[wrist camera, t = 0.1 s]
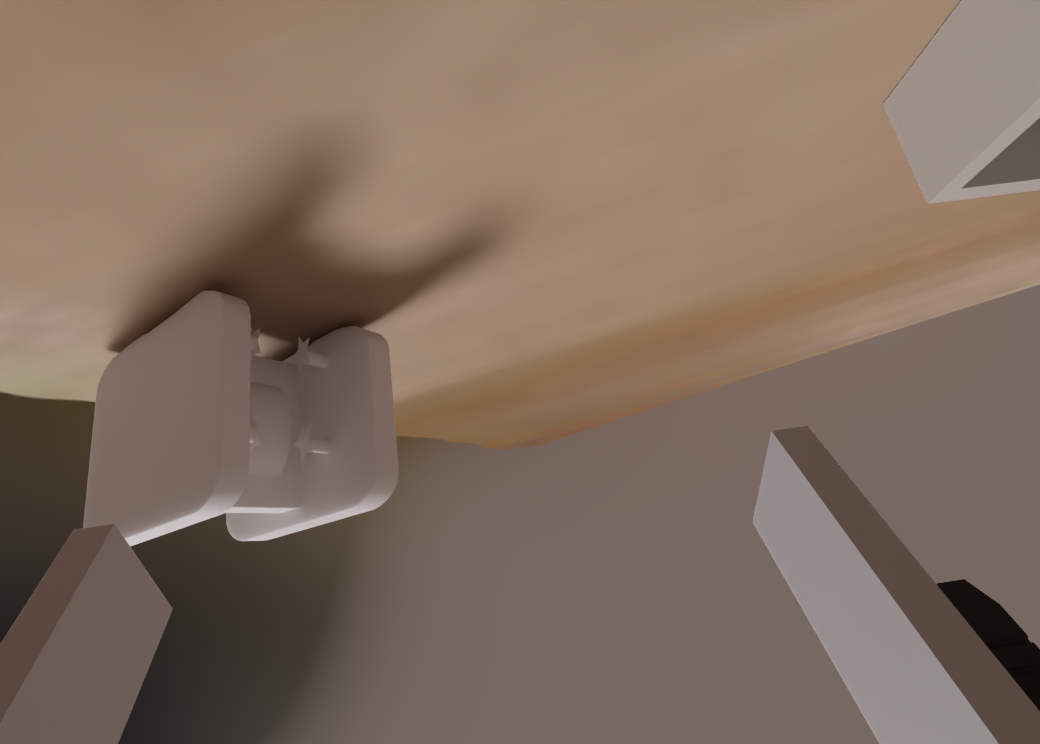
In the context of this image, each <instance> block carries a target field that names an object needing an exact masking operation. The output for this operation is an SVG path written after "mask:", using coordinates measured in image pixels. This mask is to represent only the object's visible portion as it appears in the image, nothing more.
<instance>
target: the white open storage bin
mask: <svg viewBox="0 0 1040 744" xmlns="http://www.w3.org/2000/svg"><path fill="white" fill-rule="evenodd" d="M883 106H884V108H885V111H886V113H887V115H888V117H889V120H890V122H891V124H892V126H893V129H894V131H895V133H896V135H897V138H898V140H899V142H900V144H901V146H902V149H903V151H904V153H905V155H906V158H907V160H908V162H909V164H910V167H911V169H912V171H913V173H914V175H915V178H916V180H917V182H918V184H919V187H920V189H921V191H922V193H923V196H924V198H925V200H926V202H927V204H931V203H939V202H947V201H955V200H963V199H971V198H979V197H987V196H995V195H1003V194H1011V193H1019V192H1027V191H1035V190H1040V0H961V1H960V3H959V4H958V5H957V7H956V8H955V9H954V11H953V12H952V13H951V15H950V16H949V17H948V18H947V20H946V21H945V22H944V24H943V25H942V26H941V28H940V29H939V30H938V32H937V33H936V34H935V36H934V37H933V38H932V40H931V41H930V42H929V44H928V45H927V46H926V48H925V49H924V50H923V52H922V53H921V54H920V56H919V57H918V58H917V60H916V61H915V62H914V64H913V65H912V66H911V68H910V69H909V70H908V71H907V73H906V74H905V75H904V77H903V78H902V79H901V81H900V82H899V83H898V85H897V86H896V87H895V89H894V90H893V91H892V93H891V94H890V95H889V97H888V98H887V99H886V101H885V102H884V103H883Z"/></svg>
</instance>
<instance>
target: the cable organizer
mask: <svg viewBox="0 0 1040 744" xmlns="http://www.w3.org/2000/svg"><path fill="white" fill-rule="evenodd" d="M260 328H261V327H260ZM260 328H259V329H258V330H257V331H256V332H255V333H254V331H253V329H252V328H251V315H250V309H249V306H248V304H247V303H246V302H245V301H244V300H243V299H240V298H237V297H234V296H231V295H228V294H224V293H221V292H218V291H208V290H204V291H202V292H200V293H199V294H198V295H196V296H195V297H194V298H193V299H191V300H190V301H189V302H188V303H186V304H185V305H184V306H182V307H181V308H180V309H179V310H178V311H177V312H176V313H175V314H173V315H172V316H171V317H169V318H168V319H167V320H165V321H164V322H162V323H161V324H160V325H158V326H157V327H156V328H154V329H153V330H151V331H150V332H149V333H146V334H144V335H142V336H141V337H139V338H138V339H137V340H135V341H134V342H132V343H131V344H130V345H128V346H127V347H126V348H124V349H123V351H122V352H121V353H120V354H118V355H117V356H116V357H114V358H113V359H112V360H111V361H110V363H109V364H108V365H107V367H106V369H105V370H104V372H103V374H102V376H101V379H100V382H99V385H98V389H97V395H96V404H95V415H94V425H93V435H92V444H91V454H90V465H89V474H88V484H87V495H86V504H85V515H84V528H89V527H96V526H103V525H110V524H115V525H116V527H117V528H118V530H119V531H120V533H121V534H122V536H123V537H124V539H125V540H126V541H127V543H128V544H129V546H133V545H135V544H138V543H141V542H144V541H147V540H150V539H152V538H155V537H158V536H161V535H164V534H167V533H170V532H173V531H175V530H178V529H181V528H184V527H187V526H189V525H193V524H195V523H198V522H201V521H204V520H207V519H209V518H213V517H215V516H218V515H221V514H223V513H226V524H227V528H228V531H229V533H230V534H231V535H232V537H233V538H235V539H236V540H239V541H261V540H270V539H273V538H277V537H280V536H283V535H287V534H290V533H294V532H297V531H301V530H304V529H308V528H311V527H315V526H318V525H322V524H325V523H329V522H332V521H336V520H339V519H343V518H346V517H350V516H353V515H356V514H360V513H363V512H367V511H370V510H373V509H376V508H377V507H379V506H381V505H382V504H383V503H384V502H385V501H386V500H387V499H388V498H389V497H390V495H391V494H392V492H393V491H394V489H395V486H396V484H397V480H398V460H397V459H398V458H397V445H396V432H395V419H394V406H393V393H392V380H391V368H390V355H389V346H388V343H387V341H386V339H385V338H384V337H383V336H382V335H380V334H378V333H375V332H372V331H369V330H366V329H363V328H360V327H356V326H350V327H345V328H338V329H336V330H334V331H332V332H330V333H328V334H327V335H325V336H323V337H321V338H319V339H317V340H316V341H314V342H313V343H311V345H310V346H309V347H308V343H309V338H310V337H309V338H308V339H307V340H306V341H305V342H304V343H303V342H302V340H301V339H300V337H298V350H297V352H296V354H294V355H292V356H291V357H289V358H287V359H285V360H283V361H277V360H272V359H268V358H264V357H259V356H255V355H254V354H258V353H261V352H260V348H259V344H258V338H259V333H260Z"/></svg>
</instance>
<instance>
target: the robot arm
mask: <svg viewBox="0 0 1040 744" xmlns="http://www.w3.org/2000/svg"><path fill="white" fill-rule="evenodd" d="M753 524H754V526H755V527H756V529H757V531H758V533H759V534H760V536H761V538H762V540H763V541H764V543H765V545H766V547H767V548H768V550H769V552H770V553H771V555H772V557H773V559H774V561H775V562H776V564H777V566H778V568H779V569H780V571H781V573H782V574H783V576H784V578H785V580H786V581H787V583H788V585H789V587H790V588H791V590H792V592H793V593H794V595H795V597H796V599H797V601H798V602H799V604H800V606H801V608H802V609H803V611H804V613H805V615H806V616H807V618H808V620H809V622H810V623H811V625H812V627H813V629H814V630H815V632H816V634H817V635H818V637H819V639H820V641H821V642H822V644H823V646H824V648H825V650H826V651H827V653H828V655H829V656H830V658H831V660H832V662H833V664H834V665H835V667H836V669H837V670H838V672H839V674H840V676H841V677H842V679H843V681H844V683H845V684H846V686H847V688H848V690H849V691H850V693H851V695H852V697H853V698H854V700H855V702H856V703H857V705H858V707H859V709H860V711H861V712H862V714H863V716H864V718H865V719H866V721H867V723H868V724H869V726H870V728H871V730H872V732H873V733H874V735H875V737H876V738H877V740H878V742H879V744H1040V649H1039V648H1038V647H1037V646H1036V645H1035V644H1034V643H1031V642H1030V641H1029V640H1028V636H1027V635H1026V633H1025V632H1024V631H1023V630H1022V629H1021V628H1020V627H1019V625H1018V624H1017V623H1016V622H1015V621H1014V620H1013V619H1012V618H1011V617H1010V615H1008V613H1007V612H1006V611H1005V610H1004V609H1003V608H1002V606H1001V605H1000V604H998V603H997V602H996V601H994V600H993V599H991V598H990V597H989V596H987V595H985V594H984V593H983V592H981V591H980V590H979V589H977V588H976V587H974V586H973V585H971V584H970V583H969V582H967V581H966V580H964V579H963V580H957V581H950V582H944V583H938V584H936V583H935V582H934V581H933V579H932V578H931V577H930V576H929V575H928V573H927V572H926V571H925V570H924V568H923V567H922V566H921V565H920V563H919V562H918V561H917V560H916V559H915V557H914V556H913V555H912V554H911V552H910V551H909V550H908V549H907V548H906V546H905V545H904V544H903V543H902V541H901V540H900V539H899V538H898V537H897V535H896V534H895V533H894V532H893V530H892V529H891V528H890V527H889V525H888V524H887V523H886V522H885V520H884V519H883V518H882V517H881V516H880V514H879V513H878V512H877V511H876V509H875V508H874V507H873V506H872V505H871V503H870V502H869V501H868V500H867V498H866V497H865V496H864V495H863V494H862V492H861V491H860V490H859V488H858V487H857V486H856V485H855V484H854V482H853V481H852V480H851V479H850V477H849V476H848V475H847V474H846V473H845V472H844V470H843V469H842V468H841V466H840V465H839V464H838V463H837V461H836V460H835V459H834V458H833V457H832V455H831V454H830V453H829V452H828V450H827V449H826V448H825V447H824V446H823V444H822V443H821V442H820V441H819V440H818V438H817V437H816V436H815V434H814V433H813V432H812V431H811V430H810V428H809V427H808V426H804V427H796V428H789V429H782V430H775V431H771V436H770V441H769V446H768V451H767V455H766V460H765V465H764V470H763V474H762V479H761V484H760V489H759V494H758V499H757V503H756V508H755V513H754V518H753ZM171 612H172V607H171V606H170V604H169V603H168V601H167V600H166V598H165V597H164V596H163V594H162V593H161V591H160V590H159V588H158V587H157V585H156V584H155V582H154V581H153V579H152V578H151V577H150V575H149V574H148V572H147V571H146V569H145V568H144V566H143V565H142V563H141V562H140V561H139V559H138V558H137V556H136V555H135V553H134V552H133V550H132V549H131V547H130V546H129V544H128V543H127V541H126V540H125V539H124V537H123V536H122V534H121V533H120V531H119V530H118V528H117V527H116V525H115V524H110V525H103V526H96V527H89V528H83V529H75V530H73V532H72V533H71V535H70V537H69V538H68V540H67V541H66V543H65V544H64V546H63V547H62V549H61V550H60V552H59V554H58V555H57V557H56V558H55V560H54V561H53V563H52V564H51V566H50V568H49V569H48V571H47V572H46V574H45V575H44V577H43V579H42V580H41V582H40V583H39V585H38V586H37V588H36V589H35V591H34V592H33V594H32V596H31V597H30V599H29V601H28V602H27V604H26V605H25V607H24V608H23V610H22V611H21V613H20V615H19V616H18V617H17V619H16V621H15V622H14V624H13V625H12V627H11V628H10V630H9V631H8V633H7V635H6V637H5V638H4V639H3V641H2V642H1V644H0V744H118V742H119V739H120V737H121V734H122V732H123V729H124V727H125V725H126V722H127V720H128V717H129V715H130V712H131V710H132V707H133V705H134V702H135V700H136V698H137V695H138V693H139V690H140V688H141V685H142V683H143V680H144V678H145V675H146V673H147V671H148V668H149V666H150V663H151V661H152V658H153V656H154V653H155V651H156V648H157V646H158V644H159V641H160V639H161V636H162V634H163V631H164V629H165V627H166V624H167V622H168V619H169V617H170V614H171Z"/></svg>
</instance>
